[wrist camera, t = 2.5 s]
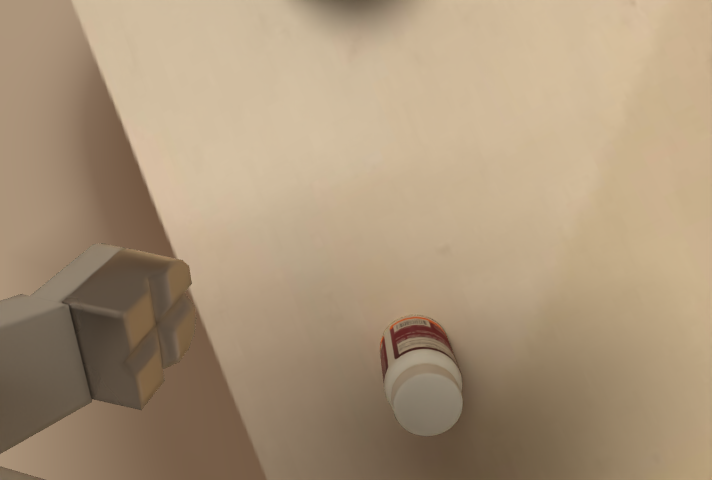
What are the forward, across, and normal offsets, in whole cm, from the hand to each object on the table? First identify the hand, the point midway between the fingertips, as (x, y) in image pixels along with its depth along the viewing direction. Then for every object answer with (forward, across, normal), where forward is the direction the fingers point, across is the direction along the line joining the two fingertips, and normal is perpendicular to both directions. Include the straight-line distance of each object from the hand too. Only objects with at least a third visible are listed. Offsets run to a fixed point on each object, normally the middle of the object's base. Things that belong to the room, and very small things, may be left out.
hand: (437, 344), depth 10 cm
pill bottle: (+28, +5, +24) cm, 37 cm away
